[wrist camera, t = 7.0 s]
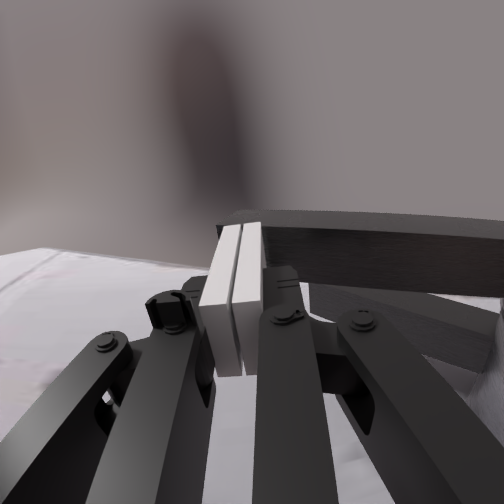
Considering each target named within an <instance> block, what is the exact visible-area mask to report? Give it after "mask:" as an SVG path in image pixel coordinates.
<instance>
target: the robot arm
mask: <svg viewBox="0 0 504 504" xmlns="http://www.w3.org/2000/svg"><path fill="white" fill-rule="evenodd" d="M145 306H146V309H147V312H148V315H149V317H150V320H151V323H152V326H153V330H152V332H151V334H150V337H147V338H144V339H140V340H136V341H132V342H129V341H128V338H127V336H126V335H125V334H124V333H122V332H119V331H109V332H105V333H102V334H100V335H98V336H96V337H95V338H94V339H93V340H91V341H90V342H89V343H88V344H87V346H86V347H85V348H84V349H83V350H82V351H81V352H80V353H79V354H78V355H77V356H76V357H75V358H74V359H73V360H72V362H71V363H70V364H69V365H68V366H67V367H66V368H65V369H64V370H63V371H62V372H61V373H60V375H59V376H58V377H57V378H56V379H55V380H54V381H53V382H52V383H51V384H50V386H49V387H48V388H47V389H46V390H45V391H44V392H43V393H42V395H41V396H40V397H39V398H38V399H37V400H36V401H35V402H34V404H33V405H32V406H31V407H30V408H29V409H28V410H27V412H26V413H25V414H24V415H23V416H22V417H21V419H20V420H19V421H18V422H17V423H16V424H15V426H14V427H13V428H12V429H11V430H10V432H9V433H8V434H7V435H6V436H5V438H4V439H3V440H2V441H1V442H0V504H202V496H203V488H204V480H205V471H206V463H207V455H208V448H209V440H210V432H211V424H212V417H213V409H214V402H215V394H216V385H215V381H214V378H213V373H214V368H216V372H217V375H218V377H231V376H242V367H243V361H244V366H245V371H246V375H257V394H256V421H255V446H254V470H253V492H252V504H339V502H338V494H337V486H336V479H335V471H334V464H333V457H332V450H331V443H330V437H329V430H328V424H327V417H326V411H325V405H324V399H323V393H330V394H335V396H336V399H337V401H338V402H339V404H340V406H341V408H342V410H343V411H344V413H345V415H346V417H347V418H348V420H349V422H350V424H351V426H352V427H353V429H354V431H355V433H356V434H357V436H358V438H359V440H360V442H361V443H362V445H363V447H364V449H365V450H366V452H367V454H368V456H369V458H370V459H371V461H372V463H373V465H374V466H375V468H376V470H377V472H378V474H379V475H380V477H381V479H382V481H383V482H384V484H385V486H386V488H387V490H388V491H389V493H390V495H391V497H392V498H393V500H394V502H395V504H504V447H503V446H502V444H501V443H500V442H499V441H498V440H497V438H496V437H495V436H494V435H493V434H492V433H491V431H490V430H489V429H488V428H487V427H486V426H485V424H484V423H483V422H482V421H481V420H480V419H479V418H478V416H477V415H476V414H475V413H474V412H473V411H472V410H471V408H470V407H469V406H468V405H467V404H466V403H465V402H464V401H463V399H462V398H461V397H460V396H459V395H458V394H457V393H456V392H455V391H454V389H453V388H452V387H451V386H450V385H449V384H448V383H447V382H446V381H445V380H444V378H443V377H442V376H441V375H440V374H439V373H438V372H437V371H436V370H435V369H434V368H433V367H432V365H431V364H430V363H429V362H428V361H427V360H426V359H425V358H424V357H423V356H422V355H421V354H420V353H419V352H418V351H417V350H416V348H415V347H414V346H413V345H412V344H411V343H410V342H409V341H408V340H407V339H406V338H405V337H404V336H403V335H402V334H401V333H400V332H399V331H398V330H397V329H396V328H395V327H394V326H393V325H392V324H391V323H390V322H389V321H388V320H387V318H386V317H385V316H383V315H382V314H380V313H379V312H377V311H374V310H371V309H355V310H350V311H348V312H346V313H343V314H342V315H341V316H340V317H339V318H338V322H337V323H329V322H322V321H319V320H316V319H314V318H312V317H310V316H309V315H308V313H307V312H306V310H305V307H304V303H303V298H302V293H301V288H300V284H299V279H298V274H297V271H296V270H295V269H294V268H292V267H291V266H290V265H289V266H280V267H271V268H267V266H266V258H265V251H264V243H263V236H262V228H261V222H254V223H246V224H244V226H243V232H242V230H241V224H238V225H230V226H224V228H223V231H222V234H221V237H220V240H219V243H218V246H217V249H216V252H215V256H214V258H213V261H212V265H211V268H210V271H209V274H208V275H206V276H197V277H191V278H190V279H189V280H188V281H187V282H185V283H184V284H183V287H182V289H181V290H170V291H165V292H162V293H159V294H157V295H155V296H153V297H152V298H150V299H149V300H148V301H147V302H146V303H145ZM106 391H108V393H109V395H110V397H111V399H110V400H109V401H108V402H107V403H105V402H104V400H103V399H102V396H103V395H104V393H105V392H106Z"/></svg>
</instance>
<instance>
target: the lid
mask: <svg viewBox="0 0 504 504" xmlns="http://www.w3.org/2000/svg"><path fill="white" fill-rule="evenodd" d="M254 222H261V228H262V236H263V243H264V251H265V258H266V266H267V268H271V267H280V266H289V265H290V266H291V267H292V268H294V269H295V270H296V271H297V274H298V279H299V282H305V283H316V284H326V285H337V286H348V287H359V288H371V289H383V290H395V291H408V292H421V293H434V294H449V295H464V296H479V297H496V298H504V221H497V220H484V219H472V218H458V217H444V216H429V215H428V216H427V215H411V214H392V213H368V212H341V211H340V212H339V211H302V210H300V211H299V210H238V211H236V212H235V213H233V214H232V215H230V216H229V217H227V218H226V219H224V220H223V221H221V222H220V223H218V224H217V225H216V227H217V233H218V238H219V240H220V237H221V234H222V231H223V228H224V226H230V225H238V224H241V230H242V232H243V226H244V224H246V223H254Z"/></svg>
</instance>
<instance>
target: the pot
mask: <svg viewBox="0 0 504 504" xmlns="http://www.w3.org/2000/svg"><path fill="white" fill-rule="evenodd" d="M309 300H310V313H312V314H315V315H317V316H320V317H322V318H325V319H328V320H330V321H333V322H336V323H337V322H338V318H339V317H340V316H341V315H342V314H343V313H346V312H348V311H350V310H355V309H371V310H374V311H377V312H379V313H380V314H382V315H383V316H385V317H386V318H387V320H388V321H389V322H390V323H391V324H392V325H393V326H394V327H395V328H396V329H397V330H398V331H399V332H400V333H401V334H402V335H403V336H404V337H405V338H406V339H407V340H408V341H409V342H410V343H411V344H412V345H413V346H414V347H415V348H416V350H417V351H418V352H419V353H421V354H423V355H426V356H429V357H432V358H435V359H438V360H441V361H444V362H447V363H450V364H453V365H456V366H459V367H462V368H465V369H468V370H471V371H474V372H477V373H479V374H478V376H477V378H476V381H475V383H474V385H473V388H472V390H471V392H470V394H469V397H468V399H467V401H466V404H467V405H468V406H469V407H470V408H471V410H472V411H473V412H474V413H475V414H476V415H477V416H478V418H479V419H480V420H481V421H482V422H483V423H484V424H485V426H486V427H487V428H488V429H489V430H490V431H491V433H492V434H493V435H494V436H495V437H496V438H497V440H498V441H499V442H500V443H501V444H502V446H503V447H504V298H500V306H501V311H500V314H498V313H495V312H491V311H488V310H484V309H481V308H477V307H474V306H470V305H467V304H463V303H460V302H456V301H452V300H449V299H445V298H442V297H438V296H435V295H431V294H428V293H421V292H408V291H395V290H383V289H371V288H359V287H348V286H337V285H326V284H316V283H309Z"/></svg>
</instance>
